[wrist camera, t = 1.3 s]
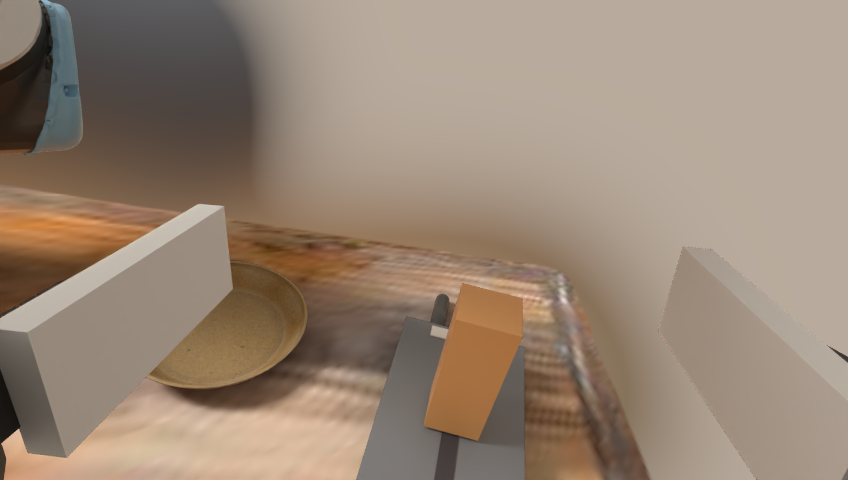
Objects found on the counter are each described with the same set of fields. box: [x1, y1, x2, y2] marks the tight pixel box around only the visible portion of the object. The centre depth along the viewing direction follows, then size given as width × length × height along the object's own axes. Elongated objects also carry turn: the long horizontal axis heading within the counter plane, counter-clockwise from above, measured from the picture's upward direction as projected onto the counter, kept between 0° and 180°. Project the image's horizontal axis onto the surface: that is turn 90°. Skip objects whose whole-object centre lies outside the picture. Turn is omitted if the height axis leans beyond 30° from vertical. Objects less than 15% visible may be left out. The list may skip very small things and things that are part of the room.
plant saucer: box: [147, 261, 308, 389], centre depth 41 cm, size 15×15×3 cm
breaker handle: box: [424, 283, 523, 441], centre depth 32 cm, size 4×4×11 cm
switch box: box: [356, 294, 525, 480], centre depth 39 cm, size 25×11×3 cm, turn 170°
